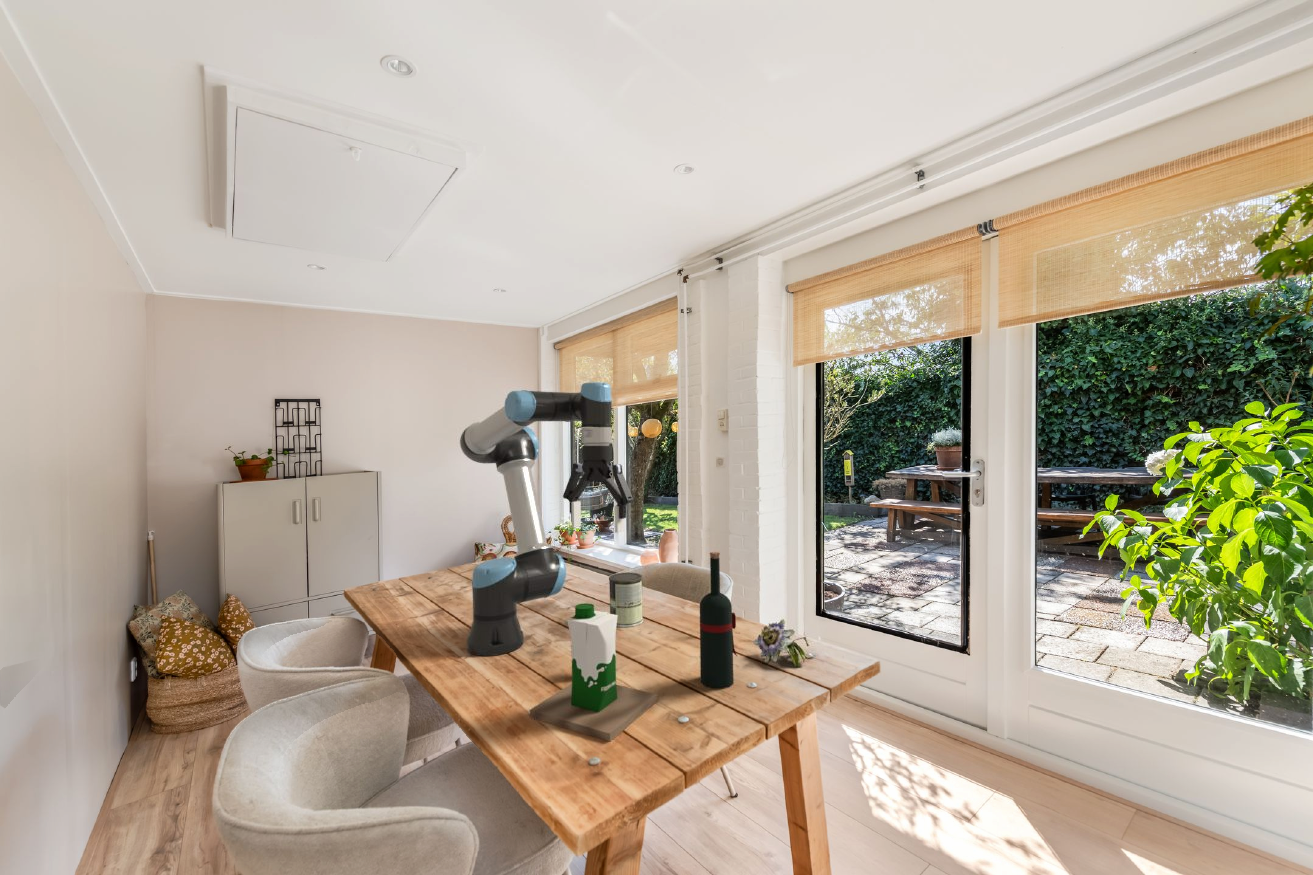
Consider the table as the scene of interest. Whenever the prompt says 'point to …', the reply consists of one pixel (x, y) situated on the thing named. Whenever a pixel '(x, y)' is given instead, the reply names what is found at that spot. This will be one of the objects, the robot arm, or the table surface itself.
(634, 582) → the coffee can
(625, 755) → the table surface
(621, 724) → the walnut board
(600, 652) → the soya milk
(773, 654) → the passion flower
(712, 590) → the wine bottle
